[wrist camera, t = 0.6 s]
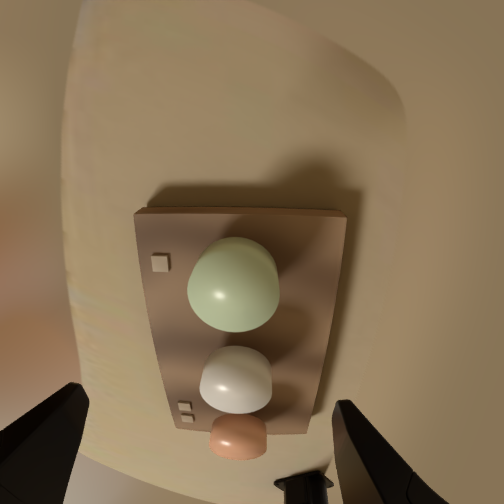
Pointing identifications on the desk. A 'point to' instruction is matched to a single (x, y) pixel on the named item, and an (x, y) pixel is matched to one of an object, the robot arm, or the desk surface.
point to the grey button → (236, 380)
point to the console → (261, 338)
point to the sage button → (234, 285)
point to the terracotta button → (238, 437)
